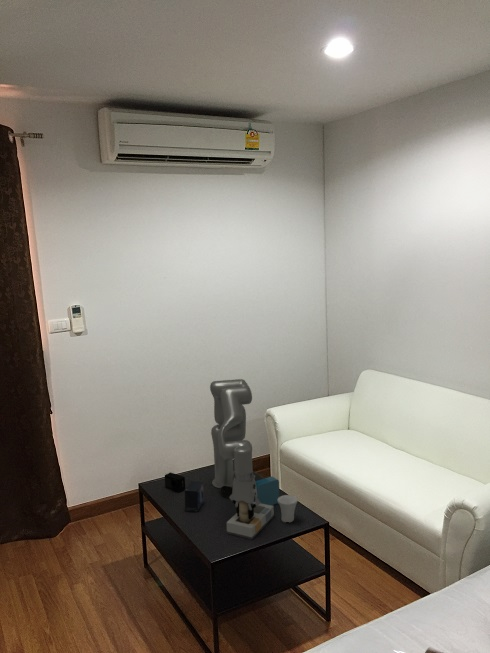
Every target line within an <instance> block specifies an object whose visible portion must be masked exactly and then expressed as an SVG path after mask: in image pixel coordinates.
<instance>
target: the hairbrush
mask: <svg viewBox="0 0 490 653" xmlns="http://www.w3.org/2000/svg"><path fill="white" fill-rule="evenodd" d="M232 489H233V487H229V486H223V487H222V486H221V488H220V491H219V492H220V494H221V496H222V497H223V498H224V499H227V500H229V501H232V500H231V499H230V498H229V497H230V495H231V494H232Z"/></svg>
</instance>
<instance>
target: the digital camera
mask: <svg viewBox="0 0 490 653" xmlns="http://www.w3.org/2000/svg"><path fill="white" fill-rule="evenodd" d="M164 486H165V489H168V490H171V491H173V492H176V493H182V492H185V489H186V477H185V476H182V475H180V474H178V473H173V472H171V471H170V472H168V473H166V474H165V475H164Z"/></svg>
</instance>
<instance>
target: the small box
mask: <svg viewBox="0 0 490 653" xmlns="http://www.w3.org/2000/svg"><path fill="white" fill-rule="evenodd" d="M204 501H205V500H204V482H203V481H195V480H191V481H190V482H189V484H187V486H185V490H184V511H185V512H190V513H191V512H192V513H198V512H199V510H200V509H201V507H202V506H203V504H204Z"/></svg>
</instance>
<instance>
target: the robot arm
mask: <svg viewBox="0 0 490 653" xmlns="http://www.w3.org/2000/svg"><path fill="white" fill-rule="evenodd" d="M209 389H210V393H211V395H212V398H213V401H214V402H213V404H214V405H213V407H214V409H213V412H214V413H213V415H214V416H213V417H214V421H215V424H214V425H213V427H212V428H211V429H210V430H211V432H210V434H211V439H212V445H213V446H212V447H213V461H214V462H213V463H214V478H213V480H211V481H212V482H211V483H212V486H213V487H215V488H218V489H221V486H222V487H223V486H229V487H232V488H233V489H232V494H231V495H230V497H229V498H230V499H231V500H230V501H231V502H232V503H233V505H234V506H235V508H236V509H235V510H236V513H237V516H238V517H239V501H244V502H246V503H248V506H249V510H248V517H249V519H251V518H252V517H253V516H254V508H255V507H256V506H258V505H259V504H260V503H261V502H260V501H259V499H258V498H257V487H256V482H255V481H256V474H254V472H253V446H252V443H251V441H249V440H248V439H245V438H246V435H247V434H246V428H247V427H246V426H247V412H246V407H244V406H245V405H249V404H251V403H252V400H253V394H252V390H251V388H250V386H249V384H248V383H247V381H246V380H245V379H242V378H239V379H238V378H237V379H224V380H214V381H212V382H211V383H210V385H209ZM254 500H255V502H256V503H255V504H254V502H253V501H254Z"/></svg>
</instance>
